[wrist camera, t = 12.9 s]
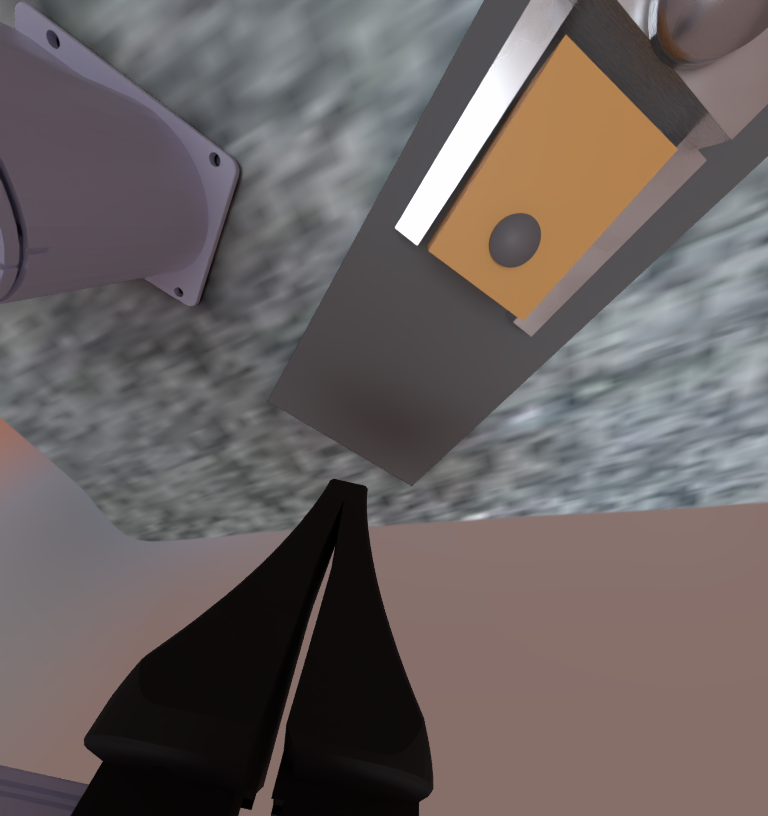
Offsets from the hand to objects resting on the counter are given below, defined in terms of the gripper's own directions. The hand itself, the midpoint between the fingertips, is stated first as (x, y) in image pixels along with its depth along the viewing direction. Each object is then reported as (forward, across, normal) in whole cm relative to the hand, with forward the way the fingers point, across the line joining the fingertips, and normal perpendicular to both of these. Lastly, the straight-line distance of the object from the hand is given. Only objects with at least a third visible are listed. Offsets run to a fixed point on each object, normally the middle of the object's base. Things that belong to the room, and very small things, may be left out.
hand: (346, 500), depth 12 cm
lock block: (+9, -4, -10) cm, 14 cm away
